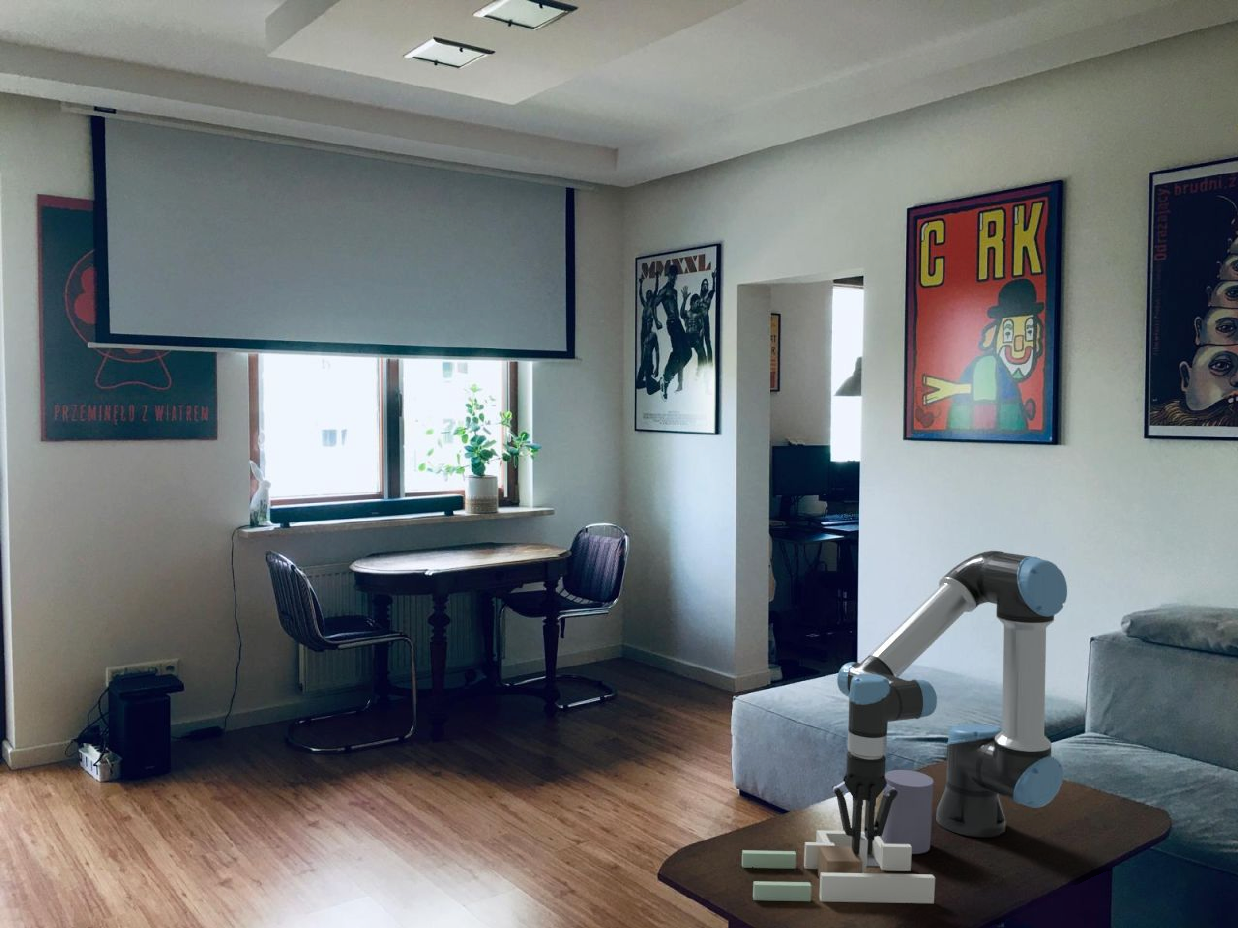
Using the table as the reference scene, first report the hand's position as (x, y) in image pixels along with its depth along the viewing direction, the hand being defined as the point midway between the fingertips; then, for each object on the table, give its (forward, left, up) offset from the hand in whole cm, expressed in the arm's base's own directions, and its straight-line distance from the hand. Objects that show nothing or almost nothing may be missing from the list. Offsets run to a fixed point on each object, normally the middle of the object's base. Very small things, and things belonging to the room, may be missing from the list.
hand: (860, 868), depth 205 cm
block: (+4, 0, -3) cm, 5 cm away
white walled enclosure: (-1, -4, -3) cm, 5 cm away
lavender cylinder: (-15, -19, -3) cm, 25 cm away
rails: (+17, 0, -3) cm, 17 cm away
